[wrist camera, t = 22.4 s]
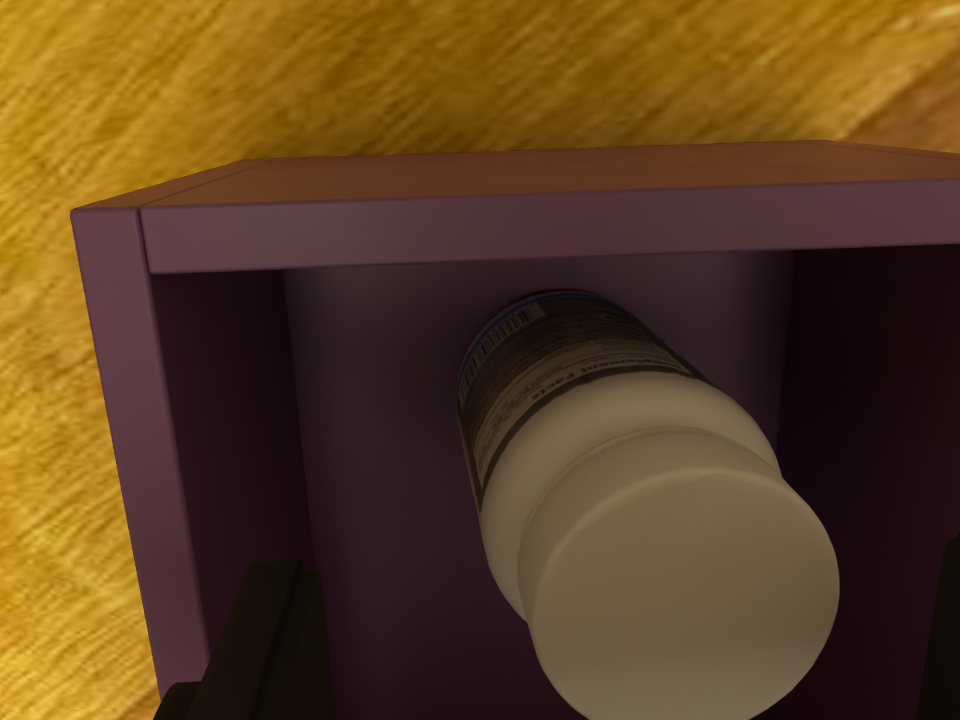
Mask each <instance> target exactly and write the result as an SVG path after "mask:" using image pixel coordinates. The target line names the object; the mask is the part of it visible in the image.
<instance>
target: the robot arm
mask: <svg viewBox="0 0 960 720" xmlns="http://www.w3.org/2000/svg"><path fill="white" fill-rule="evenodd" d="M153 720H336V712H335V702H334V693H333V683H332V674H331V664H330V655H329V645H328V636H327V627H326V617H325V608H324V598H323V589H322V580H321V575H320V572H319V571H318V570H314V571H305V569H304V565H303V561H302V560H301V559H282V560H262V561H253V562H251V564H250V566H249V568H248V570H247V572H246V575H245V577H244V580H243V582H242V584H241V587H240V589H239V592H238V594H237V596H236V599H235V601H234V604H233V606H232V608H231V611H230V613H229V616H228V618H227V620H226V623H225V625H224V628H223V630H222V632H221V635H220V637H219V639H218V642H217V644H216V647H215V649H214V651H213V654H212V656H211V659H210V661H209V663H208V666H207V668H206V671H205V673H204V675H203V678H202V680H201V681H194V682H176V683H175V684H173V685H172V686H170V687H169V689H168V691H167V692H166V694H165V696H164V697H163V699H162V701H161V703H160V705H159V708H158V710H157V712H156V714H155V716H154V718H153ZM915 720H960V532H959V533H958V534H957V537H956V539H952V540H950V541H949V542H948V543H947V544H946V546H945V549H944V553H943V559H942V565H941V571H940V576H939V582H938V588H937V594H936V600H935V605H934V611H933V617H932V623H931V629H930V635H929V640H928V646H927V652H926V658H925V664H924V669H923V675H922V681H921V687H920V693H919V698H918V704H917V710H916V716H915Z"/></svg>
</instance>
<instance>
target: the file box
mask: <svg viewBox="0 0 960 720" xmlns="http://www.w3.org/2000/svg"><path fill="white" fill-rule="evenodd" d="M70 218H71V224H72V229H73V234H74V240H75V245H76V250H77V256H78V261H79V266H80V272H81V277H82V282H83V288H84V293H85V298H86V304H87V309H88V314H89V320H90V325H91V330H92V336H93V341H94V346H95V352H96V357H97V362H98V368H99V373H100V378H101V384H102V389H103V394H104V400H105V405H106V410H107V416H108V421H109V426H110V432H111V437H112V443H113V448H114V453H115V459H116V464H117V469H118V475H119V480H120V485H121V491H122V496H123V501H124V507H125V512H126V517H127V523H128V528H129V533H130V539H131V544H132V549H133V555H134V560H135V565H136V571H137V576H138V581H139V587H140V592H141V597H142V603H143V608H144V613H145V619H146V624H147V629H148V635H149V640H150V645H151V651H152V656H153V662H154V667H155V672H156V678H157V683H158V688H159V694H160V699H161V701H162V699H163V697H164V696H165V694H166V692H167V691H168V689H169V687H170V686H172V685H173V684H175V683H176V682H194V681H201V680H202V678H203V675H204V673H205V671H206V668H207V666H208V663H209V661H210V659H211V656H212V654H213V651H214V649H215V647H216V644H217V642H218V639H219V637H220V635H221V632H222V630H223V628H224V625H225V623H226V620H227V618H228V616H229V613H230V611H231V608H232V606H233V604H234V601H235V599H236V596H237V594H238V592H239V589H240V587H241V584H242V582H243V580H244V577H245V575H246V572H247V570H248V568H249V566H250V564H251V562H253V561H262V560H282V559H301V560H302V561H303V565H304V569H305V571H314V570H318V571H319V572H320V575H321V580H322V589H323V598H324V608H325V617H326V627H327V636H328V645H329V655H330V664H331V674H332V683H333V693H334V702H335V712H336V720H589V719H588V718H586V717H585V716H583V715H582V714H580V713H579V712H578V711H576V710H575V709H574V708H573V707H572V706H570V705H569V704H568V703H567V702H566V700H565V699H564V698H563V697H562V696H561V695H560V694H559V693H558V692H557V691H556V689H555V688H554V686H553V685H552V683H551V682H550V680H549V679H548V677H547V676H546V674H545V673H544V671H543V669H542V667H541V664H540V662H539V660H538V657H537V654H536V651H535V648H534V644H533V641H532V637H531V634H530V630H529V626H528V623H527V622H526V621H525V620H524V619H523V618H522V617H521V616H520V615H519V614H518V613H517V612H516V611H515V610H514V609H513V607H512V606H511V605H510V603H509V602H508V601H507V599H506V598H505V597H504V595H503V594H502V592H501V591H500V589H499V587H498V585H497V583H496V581H495V579H494V577H493V575H492V573H491V570H490V568H489V565H488V561H487V556H486V552H485V548H484V544H483V541H482V535H481V529H480V524H479V518H478V514H477V511H476V508H475V503H474V498H473V494H472V489H471V485H470V479H469V476H468V472H467V464H466V460H465V455H464V450H463V444H462V439H461V435H460V430H459V424H458V419H457V413H456V385H457V379H458V374H459V371H460V367H461V363H462V361H463V358H464V356H465V354H466V352H467V350H468V348H469V346H470V345H471V343H472V342H473V340H474V339H475V337H476V336H477V334H478V333H479V332H480V331H481V330H482V329H483V327H484V326H485V325H486V324H487V323H488V322H489V321H490V320H491V319H492V318H494V317H495V316H496V315H497V314H498V313H500V312H501V311H502V310H504V309H505V308H507V307H509V306H511V305H513V304H515V303H516V302H518V301H521V300H523V299H525V298H528V297H531V296H535V295H538V294H543V293H547V292H556V291H580V292H586V293H592V294H595V295H598V296H601V297H604V298H606V299H609V300H611V301H613V302H615V303H616V304H618V305H620V306H621V307H623V308H625V309H626V310H627V311H629V312H630V313H631V314H632V315H634V316H635V317H637V318H638V319H639V320H640V321H641V322H642V323H644V324H645V325H646V326H647V327H648V328H649V329H650V330H651V331H653V332H654V333H655V334H656V335H658V336H659V337H660V338H661V339H662V340H663V341H665V342H667V343H668V344H669V345H670V346H671V347H672V348H673V349H674V350H675V351H676V352H678V353H679V354H680V355H681V356H682V357H683V358H684V359H685V360H687V361H688V362H689V363H690V364H691V365H693V366H694V367H695V368H696V369H698V370H699V371H700V372H701V373H702V374H703V375H704V376H705V377H706V378H707V379H708V380H710V381H711V382H713V383H714V384H716V385H717V386H718V387H720V388H721V389H722V390H723V391H724V392H726V393H727V394H728V395H729V396H730V397H731V398H732V399H734V400H735V401H736V403H738V404H739V405H740V406H741V407H742V408H743V409H744V410H745V411H746V412H747V413H748V414H749V415H750V416H751V417H752V418H753V419H754V420H755V422H756V423H757V425H758V426H759V428H760V429H761V431H762V432H763V434H764V435H765V437H766V438H767V440H768V442H769V444H770V445H771V447H772V450H773V452H774V454H775V456H776V459H777V461H778V465H779V468H780V472H781V475H782V478H783V479H784V480H785V481H786V482H787V484H788V485H789V486H790V487H791V488H792V489H793V490H794V491H795V492H796V493H797V494H798V495H799V496H800V497H801V498H802V499H803V500H804V501H805V502H806V503H807V504H808V505H809V506H810V508H811V509H812V510H813V512H814V513H815V514H816V516H817V517H818V519H819V520H820V522H821V523H822V525H823V527H824V528H825V530H826V532H827V534H828V537H829V539H830V541H831V543H832V546H833V549H834V552H835V555H836V560H837V565H838V571H839V588H840V594H839V601H838V608H837V613H836V617H835V620H834V623H833V626H832V629H831V632H830V634H829V636H828V638H827V641H826V643H825V645H824V647H823V649H822V650H821V652H820V654H819V655H818V657H817V659H816V661H815V662H814V664H813V666H812V667H811V668H810V670H809V671H808V672H807V673H806V675H805V676H804V677H803V678H802V679H801V680H800V681H799V682H798V683H797V685H796V686H795V687H794V688H793V689H792V690H791V691H790V692H789V693H788V694H786V695H785V696H784V697H783V698H781V699H780V700H779V701H777V702H776V703H775V704H773V705H772V706H771V707H769V708H768V709H767V710H765V711H763V712H761V713H760V714H758V715H756V716H754V717H752V718H751V719H749V720H915V716H916V710H917V704H918V698H919V693H920V687H921V681H922V675H923V669H924V664H925V658H926V652H927V646H928V640H929V635H930V629H931V623H932V617H933V611H934V605H935V600H936V594H937V588H938V582H939V576H940V571H941V565H942V559H943V553H944V549H945V546H946V544H947V543H948V542H949V541H950V540H952V539H956V537H957V534H958V533H959V532H960V154H957V153H947V152H937V151H927V150H917V149H907V148H897V147H887V146H877V145H867V144H857V143H847V142H838V141H828V140H808V141H778V142H748V143H718V144H689V145H659V146H629V147H599V148H569V149H540V150H510V151H480V152H450V153H420V154H391V155H361V156H331V157H301V158H271V159H244V160H240V161H237V162H233V163H230V164H226V165H223V166H219V167H216V168H213V169H209V170H206V171H202V172H199V173H195V174H192V175H188V176H185V177H181V178H178V179H174V180H171V181H167V182H164V183H160V184H157V185H154V186H150V187H147V188H143V189H140V190H136V191H133V192H129V193H126V194H122V195H119V196H115V197H112V198H108V199H105V200H101V201H98V202H95V203H91V204H88V205H84V206H81V207H77V208H74V209H72V210H71V211H70Z"/></svg>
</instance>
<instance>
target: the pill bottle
mask: <svg viewBox="0 0 960 720" xmlns="http://www.w3.org/2000/svg"><path fill="white" fill-rule="evenodd" d="M456 413H457V419H458V424H459V430H460V435H461V439H462V444H463V450H464V455H465V460H466V464H467V472H468V476H469V479H470V485H471V489H472V494H473V498H474V503H475V508H476V511H477V514H478V518H479V524H480V529H481V535H482V541H483V544H484V548H485V552H486V556H487V561H488V565H489V568H490V570H491V573H492V575H493V577H494V579H495V581H496V583H497V585H498V587H499V589H500V591H501V592H502V594H503V595H504V597H505V598H506V599H507V601H508V602H509V603H510V605H511V606H512V607H513V609H514V610H515V611H516V612H517V613H518V614H519V615H520V616H521V617H522V618H523V619H524V620H525V621H526V622H527V623H528V626H529V630H530V634H531V637H532V641H533V644H534V648H535V651H536V654H537V657H538V660H539V662H540V664H541V667H542V669H543V671H544V673H545V674H546V676H547V677H548V679H549V680H550V682H551V683H552V685H553V686H554V688H555V689H556V691H557V692H558V693H559V694H560V695H561V696H562V697H563V698H564V699H565V700H566V702H567V703H568V704H569V705H570V706H572V707H573V708H574V709H575V710H576V711H578V712H579V713H580V714H582V715H583V716H585V717H586V718H588V719H589V720H749V719H751V718H752V717H754V716H756V715H758V714H760V713H761V712H763V711H765V710H767V709H768V708H769V707H771V706H772V705H773V704H775V703H776V702H777V701H779V700H780V699H781V698H783V697H784V696H785V695H786V694H788V693H789V692H790V691H791V690H792V689H793V688H794V687H795V686H796V685H797V683H798V682H799V681H800V680H801V679H802V678H803V677H804V676H805V675H806V673H807V672H808V671H809V670H810V668H811V667H812V666H813V664H814V662H815V661H816V659H817V657H818V655H819V654H820V652H821V650H822V649H823V647H824V645H825V643H826V641H827V638H828V636H829V634H830V632H831V629H832V626H833V623H834V620H835V617H836V613H837V608H838V601H839V594H840V588H839V571H838V565H837V560H836V555H835V552H834V549H833V546H832V543H831V541H830V539H829V537H828V534H827V532H826V530H825V528H824V527H823V525H822V523H821V522H820V520H819V519H818V517H817V516H816V514H815V513H814V512H813V510H812V509H811V508H810V506H809V505H808V504H807V503H806V502H805V501H804V500H803V499H802V498H801V497H800V496H799V495H798V494H797V493H796V492H795V491H794V490H793V489H792V488H791V487H790V486H789V485H788V484H787V482H786V481H785V480H784V479H783V478H782V475H781V472H780V468H779V465H778V461H777V459H776V456H775V454H774V452H773V450H772V447H771V445H770V444H769V442H768V440H767V438H766V437H765V435H764V434H763V432H762V431H761V429H760V428H759V426H758V425H757V423H756V422H755V420H754V419H753V418H752V417H751V416H750V415H749V414H748V413H747V412H746V411H745V410H744V409H743V408H742V407H741V406H740V405H739V404H738V403H736V401H735V400H734V399H732V398H731V397H730V396H729V395H728V394H727V393H726V392H724V391H723V390H722V389H721V388H720V387H718V386H717V385H716V384H714V383H713V382H711V381H710V380H708V379H707V378H706V377H705V376H704V375H703V374H702V373H701V372H700V371H699V370H698V369H696V368H695V367H694V366H693V365H691V364H690V363H689V362H688V361H687V360H685V359H684V358H683V357H682V356H681V355H680V354H679V353H678V352H676V351H675V350H674V349H673V348H672V347H671V346H670V345H669V344H668V343H667V342H665V341H663V340H662V339H661V338H660V337H659V336H658V335H656V334H655V333H654V332H653V331H651V330H650V329H649V328H648V327H647V326H646V325H645V324H644V323H642V322H641V321H640V320H639V319H638V318H637V317H635V316H634V315H632V314H631V313H630V312H629V311H627V310H626V309H625V308H623V307H621V306H620V305H618V304H616V303H615V302H613V301H611V300H609V299H606V298H604V297H601V296H598V295H595V294H592V293H586V292H580V291H556V292H547V293H543V294H538V295H535V296H531V297H528V298H525V299H523V300H521V301H518V302H516V303H515V304H513V305H511V306H509V307H507V308H505V309H504V310H502V311H501V312H500V313H498V314H497V315H496V316H495V317H494V318H492V319H491V320H490V321H489V322H488V323H487V324H486V325H485V326H484V327H483V329H482V330H481V331H480V332H479V333H478V334H477V336H476V337H475V339H474V340H473V342H472V343H471V345H470V346H469V348H468V350H467V352H466V354H465V356H464V358H463V361H462V363H461V367H460V371H459V374H458V379H457V385H456Z"/></svg>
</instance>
